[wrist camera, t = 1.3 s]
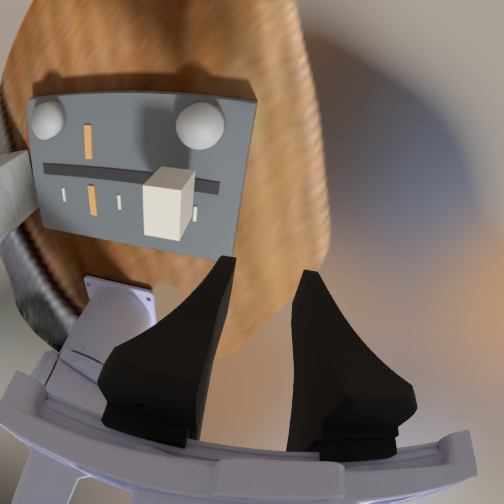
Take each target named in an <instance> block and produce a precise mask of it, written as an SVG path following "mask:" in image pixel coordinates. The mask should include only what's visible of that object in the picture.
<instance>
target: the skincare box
mask: <svg viewBox="0 0 504 504" xmlns="http://www.w3.org/2000/svg"><path fill="white" fill-rule="evenodd" d="M38 208H39V204H38V199H37V193H36V188H35V181H34V177H33V173H32V168H31V163H30V159H29V153H28V150H22V151H16V152H11V153H5V154H2V155H1V156H0V243H1V242H2V241H3V240H4V239H5V238H6V237H7V236H8V235H9V234H10V233H11V232H13V231H14V230H15V229H16V228H17V227H18V226H19V225H20V224H21V223H22V222H23V221H24V220H25V219H26V218H27V217H29V216H30V215H31V214H32V213H33V212H34V211H35V210H37V209H38Z"/></svg>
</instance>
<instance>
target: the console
mask: <svg viewBox="0 0 504 504" xmlns="http://www.w3.org/2000/svg"><path fill="white" fill-rule="evenodd" d="M257 102H258V101H254V100H247V99H241V98H233V97H225V96H217V95H208V94H197V93H185V92H169V91H141V90H115V91H88V92H73V93H61V94H51V95H43V96H37V97H34V98H31V99H28V100H27V106H28V128H29V141H30V151H31V160H32V168H33V175H34V181H35V188H36V193H37V199H38V204H39V209H40V214H41V219H42V223H43V227H44V228H49V229H53V230H58V231H63V232H68V233H73V234H78V235H84V236H89V237H94V238H99V239H104V240H109V241H114V242H119V243H125V244H130V245H135V246H140V247H146V248H151V249H156V250H162V251H167V252H173V253H178V254H183V255H189V256H194V257H200V258H205V259H211V260H218V258H219V257H220V256H222V255H224V256H230V257H232V255H233V250H234V243H235V237H236V230H237V224H238V217H239V211H240V204H241V198H242V192H243V186H244V179H245V173H246V167H247V161H248V155H249V149H250V143H251V137H252V131H253V125H254V119H255V114H256V108H257ZM161 166H164V167H172V168H180V169H187V170H195V182H194V195H193V210H192V217H191V219H190V221H189V223H188V225H187V227H186V229H185V231H184V233H183V235H182V237H181V239H180V241H176V240H170V239H165V238H159V237H153V236H148V235H144V217H143V184H144V183H145V182H146V181H147V180H148V179H149V178H150V177H151V176H152V175H153V174H154V173H155V172H156V171H157V170H158V169H159V168H160V167H161Z"/></svg>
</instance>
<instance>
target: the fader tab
mask: <svg viewBox="0 0 504 504" xmlns="http://www.w3.org/2000/svg"><path fill="white" fill-rule="evenodd" d="M194 182H195V170H187V169H180V168H172V167H164V166H161V167H160V168H159V169H158V170H157V171H156V172H155V173H154V174H153V175H152V176H151V177H150V178H149V179H148V180H147V181H146V182H145V183H144V184H143V217H144V235H148V236H153V237H159V238H165V239H170V240H176V241H180V239H181V237H182V235H183V233H184V231H185V229H186V227H187V225H188V223H189V221H190V219H191V217H192V210H193V195H194Z"/></svg>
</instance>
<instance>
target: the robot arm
mask: <svg viewBox="0 0 504 504" xmlns="http://www.w3.org/2000/svg"><path fill="white" fill-rule="evenodd" d="M235 264H236V258H235V257H230V256H224V255H222V256H220V257H219V258H218V260H217V262H216V264H215V265H214V267H213V268H212V270H211V271H210V272H209V274H208V275H207V276H206V277H205V279H204V280H203V281H202V282H201V283H200V285H199V286H198V287H197V288H196V289H195V290H194V291H193V292H192V293H191V294H190V295H189V296H188V297H187V298H186V299H185V300H184V301H183V302H182V303H181V304H180V305H179V306H178V307H177V308H176V309H174V310H173V311H172V312H171V313H170V314H169V315H167V316H166V317H164V319H162V320H160V321H159V322H158V323H157V319H156V309H155V298H154V293H153V291H151V290H148V289H144V288H139V287H135V286H130V285H126V284H122V283H117V282H113V281H109V280H105V279H101V278H97V277H93V276H89V275H86V276H85V278H84V282H85V286H86V289H87V293H88V296H89V302H88V304H87V305H86V307H85V309H84V310H83V312H82V314H81V315H80V317H79V319H78V320H77V322H76V324H75V326H74V327H73V329H72V331H71V333H70V335H69V336H68V338H67V340H66V342H65V344H64V345H63V347H62V349H61V351H60V352H59V353H57V352H55V351H54V350H51V351H47V352H45V353H44V354H43V355H42V357H41V359H40V360H39V362H38V364H37V365H36V367H35V369H34V371H33V372H32V374H31V376H28V375H26V374H24V373H22V372H20V371H18V370H16V372H15V373H14V375H13V377H12V379H11V381H10V383H9V385H8V387H7V389H6V391H5V393H4V395H3V397H2V399H1V401H0V425H1V426H2V427H4V428H5V429H6V430H7V431H9V432H10V433H11V434H13V435H14V436H15V437H17V438H18V439H19V440H21V441H22V442H24V443H25V444H27V445H28V446H29V448H30V450H31V452H30V455H29V457H28V460H27V462H26V465H25V467H24V470H23V473H22V475H21V478H20V480H19V483H18V486H17V489H16V492H15V495H14V497H13V501H12V504H68V503H69V501H70V498H71V496H72V493H73V491H74V488H75V486H76V484H77V481H78V480H79V479H81V478H86V477H93V478H95V479H97V480H100V481H103V482H105V483H107V484H110V485H113V486H115V487H118V488H121V489H124V490H127V491H130V492H133V493H134V496H133V501H132V504H398V503H403V502H407V501H411V500H415V499H418V498H422V497H425V496H429V495H432V494H436V493H439V492H442V491H444V490H447V489H449V488H452V487H454V486H456V485H459V484H461V483H463V482H466V481H468V480H470V479H472V478H474V477H476V476H477V475H478V473H477V467H476V462H475V456H474V451H473V446H472V442H471V437H470V433H469V430H464V431H460V432H455V433H452V434H449V435H447V436H445V437H443V438H442V439H440V440H439V441H438V442H433V443H427V444H421V445H415V446H408V447H402V448H397V447H396V440H395V437H397V436H398V434H399V433H398V426H400V425H401V424H402V423H404V422H405V421H406V420H408V419H409V418H410V417H411V416H412V415H413V414H414V413H415V412H416V410H417V402H416V398H415V393H414V390H413V387H412V385H411V384H409V383H408V382H407V381H405V380H404V379H403V378H401V377H400V376H399V375H397V374H396V373H395V372H394V371H392V370H391V369H390V368H389V367H388V366H387V365H385V364H384V363H383V362H382V361H381V360H380V359H379V358H378V357H377V356H376V355H375V354H374V353H373V352H372V351H371V350H370V349H369V348H368V347H367V345H366V344H365V343H364V342H363V341H362V340H361V339H360V337H359V336H358V335H357V334H356V332H355V331H354V330H353V328H352V327H351V326H350V324H349V323H348V322H347V320H346V319H345V317H344V316H343V314H342V313H341V311H340V310H339V308H338V306H337V305H336V303H335V301H334V300H333V298H332V296H331V295H330V293H329V291H328V289H327V288H326V286H325V284H324V282H323V280H322V278H321V276H320V275H319V273H318V272H316V271H310V270H304V271H303V274H302V277H301V280H300V283H299V286H298V289H297V291H296V294H295V297H294V300H293V303H292V318H291V328H292V342H293V360H294V384H293V399H292V410H291V419H290V428H289V436H288V442H287V449H286V451H272V450H261V449H250V448H242V447H235V446H228V445H221V444H215V443H208V442H203V441H199V440H200V433H201V426H202V421H203V415H204V410H205V404H206V398H207V392H208V387H209V381H210V376H211V370H212V365H213V360H214V357H215V353H216V350H217V346H218V343H219V339H220V336H221V333H222V329H223V326H224V323H225V319H226V316H227V312H228V307H229V301H230V296H231V290H232V283H233V277H234V271H235ZM148 297H149V298H148Z"/></svg>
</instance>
